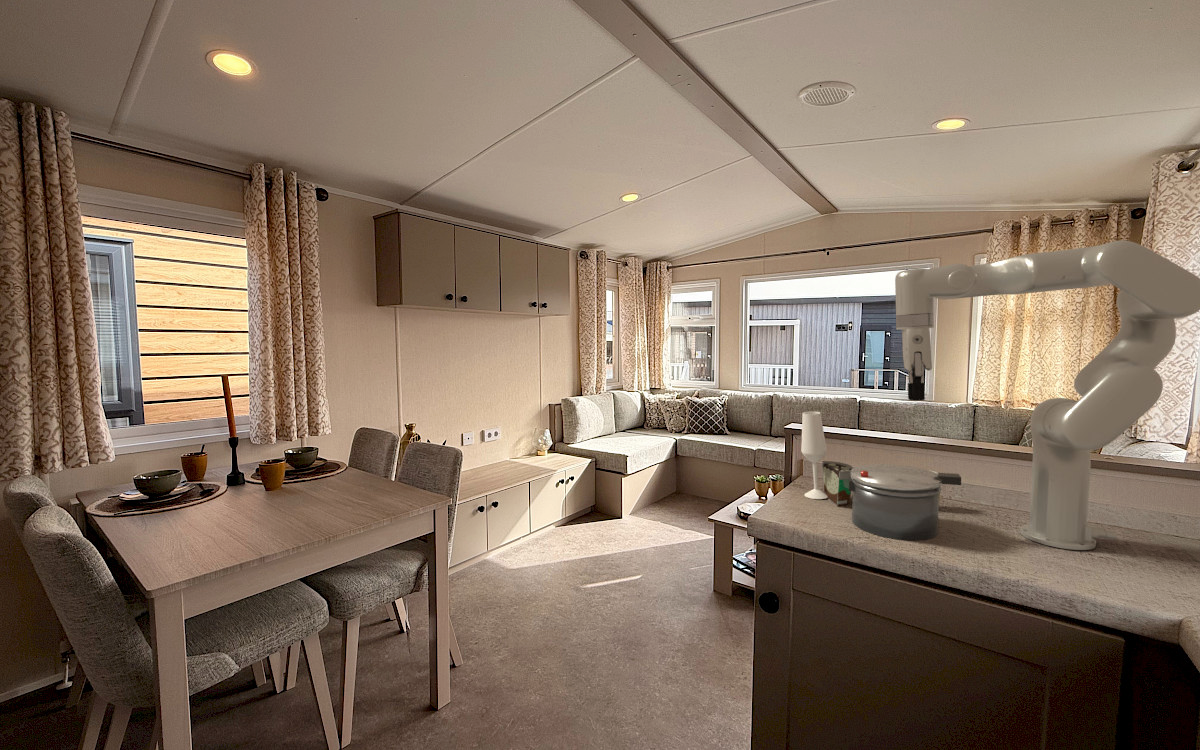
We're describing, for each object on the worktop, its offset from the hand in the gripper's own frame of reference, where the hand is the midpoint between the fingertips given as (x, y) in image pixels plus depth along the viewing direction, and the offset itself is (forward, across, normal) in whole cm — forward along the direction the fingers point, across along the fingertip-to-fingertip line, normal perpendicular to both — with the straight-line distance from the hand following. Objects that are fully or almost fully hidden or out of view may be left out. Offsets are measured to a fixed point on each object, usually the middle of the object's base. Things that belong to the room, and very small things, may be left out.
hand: (916, 399), depth 121 cm
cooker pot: (+30, -2, +6) cm, 31 cm away
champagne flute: (+30, +15, +24) cm, 41 cm away
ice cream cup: (+30, +13, +17) cm, 37 cm away
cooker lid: (+19, -2, +3) cm, 19 cm away
